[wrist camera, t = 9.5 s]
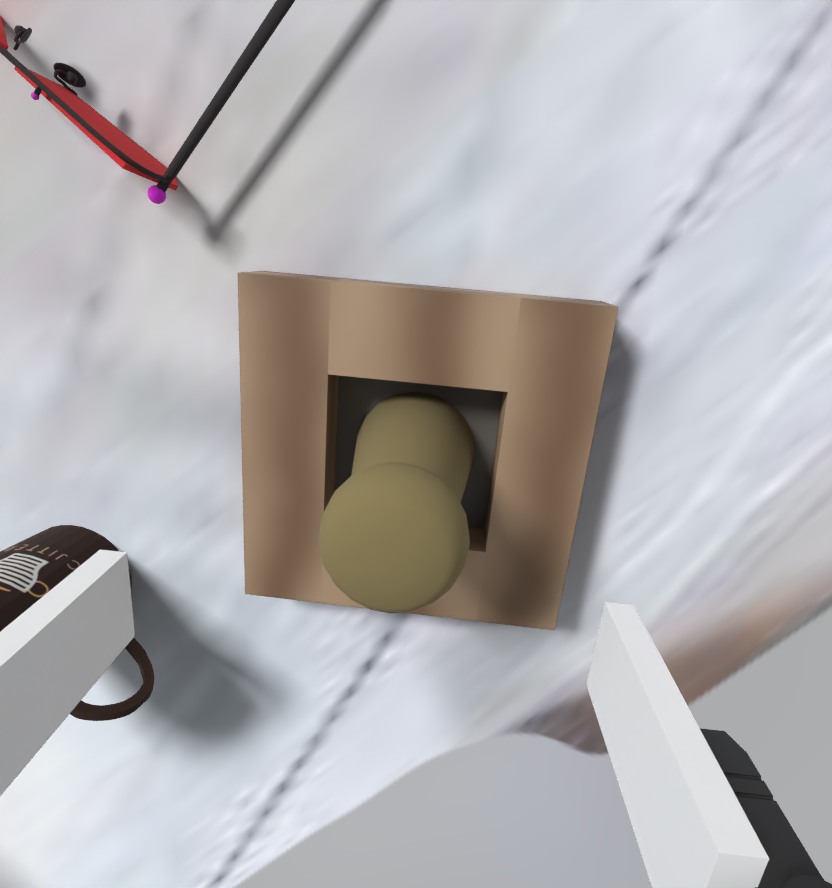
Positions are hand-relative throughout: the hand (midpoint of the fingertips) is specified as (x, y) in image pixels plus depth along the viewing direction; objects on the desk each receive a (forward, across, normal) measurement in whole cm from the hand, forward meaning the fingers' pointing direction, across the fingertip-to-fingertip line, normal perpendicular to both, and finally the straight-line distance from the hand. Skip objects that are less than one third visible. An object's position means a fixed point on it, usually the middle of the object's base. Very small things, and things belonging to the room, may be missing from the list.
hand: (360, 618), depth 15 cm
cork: (+14, +1, 0) cm, 14 cm away
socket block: (+14, +1, 0) cm, 14 cm away
